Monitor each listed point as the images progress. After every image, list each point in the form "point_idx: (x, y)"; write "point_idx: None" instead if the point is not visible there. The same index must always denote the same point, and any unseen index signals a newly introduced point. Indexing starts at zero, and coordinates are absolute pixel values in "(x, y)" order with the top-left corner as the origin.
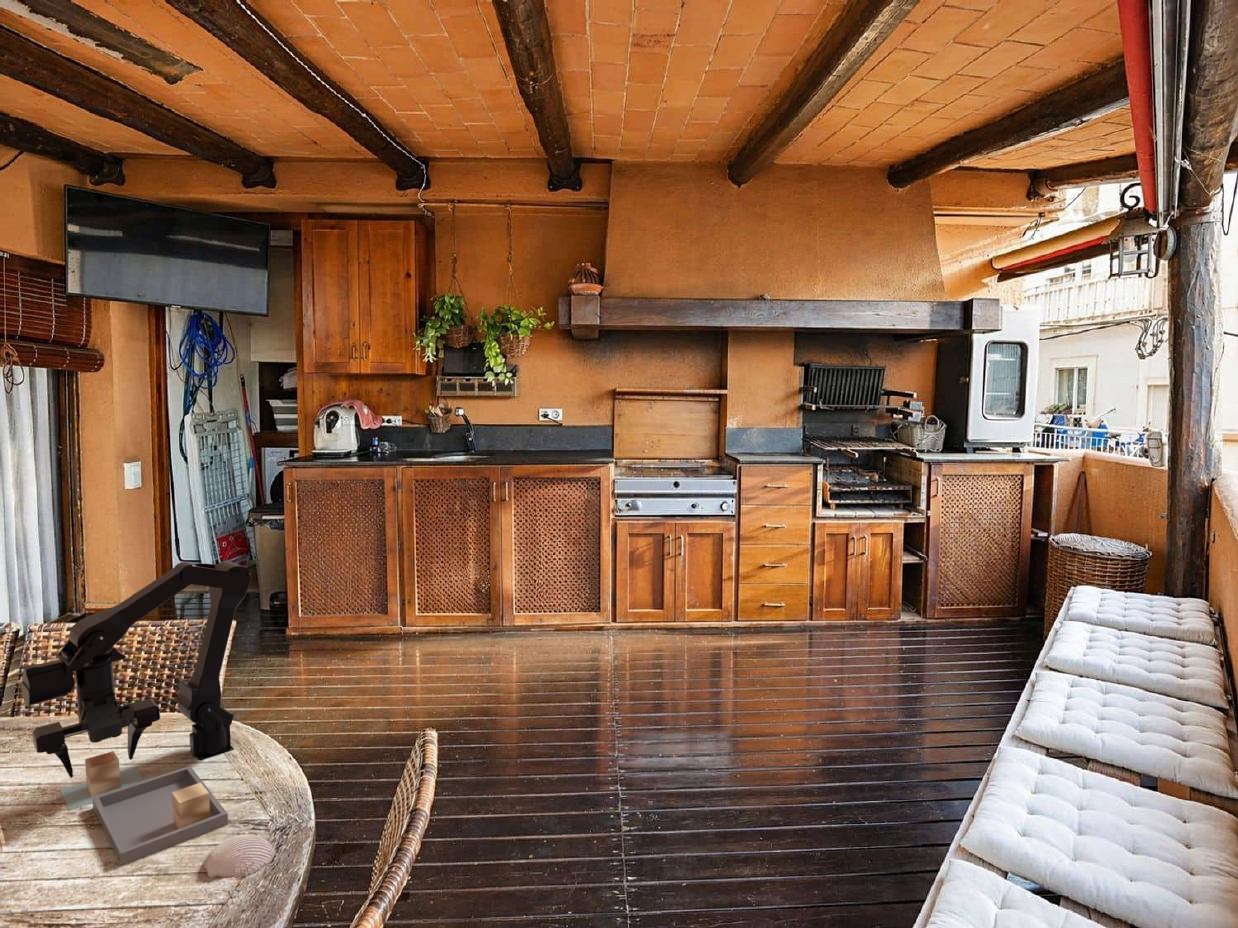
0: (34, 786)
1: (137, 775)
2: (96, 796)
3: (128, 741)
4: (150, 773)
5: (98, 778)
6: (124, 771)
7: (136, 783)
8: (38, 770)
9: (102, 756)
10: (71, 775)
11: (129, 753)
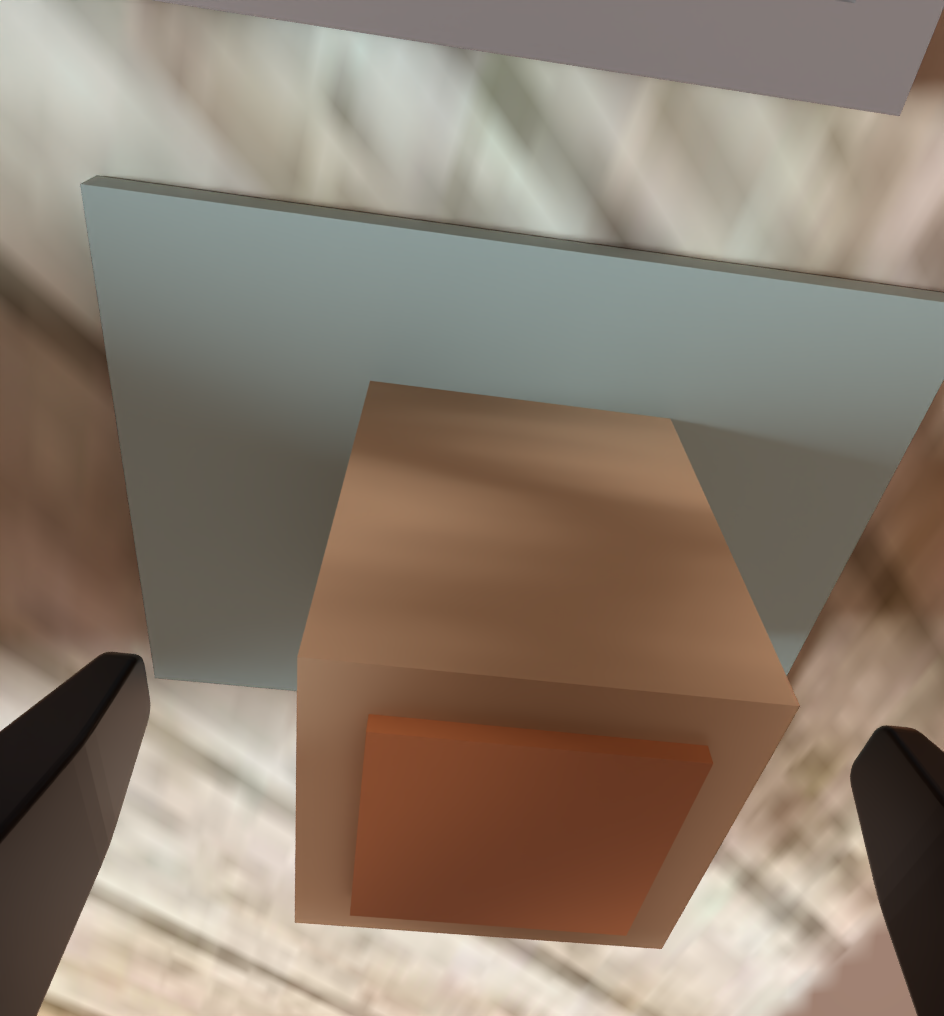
0: (787, 873)
1: (161, 505)
2: (837, 104)
3: (10, 1007)
4: (40, 482)
5: (625, 532)
6: (257, 661)
7: (186, 3)
8: (664, 987)
9: (479, 883)
10: (918, 749)
11: (96, 745)
